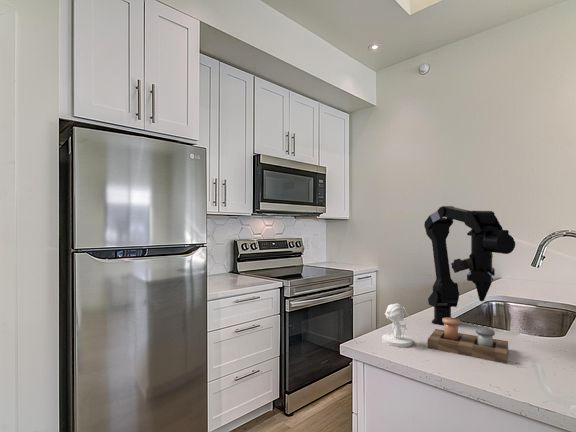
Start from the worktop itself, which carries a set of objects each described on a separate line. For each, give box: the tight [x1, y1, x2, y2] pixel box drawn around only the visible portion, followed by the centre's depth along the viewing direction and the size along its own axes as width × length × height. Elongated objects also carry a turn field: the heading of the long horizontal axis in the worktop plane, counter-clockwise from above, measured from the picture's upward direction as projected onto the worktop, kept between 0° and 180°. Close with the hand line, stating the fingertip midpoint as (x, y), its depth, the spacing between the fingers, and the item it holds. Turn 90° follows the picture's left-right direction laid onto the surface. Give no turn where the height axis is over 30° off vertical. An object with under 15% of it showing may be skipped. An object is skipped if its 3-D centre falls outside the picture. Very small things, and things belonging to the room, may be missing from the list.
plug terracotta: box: [442, 317, 461, 341], centre depth 104 cm, size 5×5×6 cm
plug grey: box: [475, 327, 496, 348], centre depth 99 cm, size 5×5×6 cm
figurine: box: [381, 303, 414, 348], centre depth 108 cm, size 9×9×12 cm
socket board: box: [427, 328, 509, 365], centre depth 102 cm, size 12×20×2 cm, turn 56°
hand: (481, 301), depth 107 cm, fingers closed
